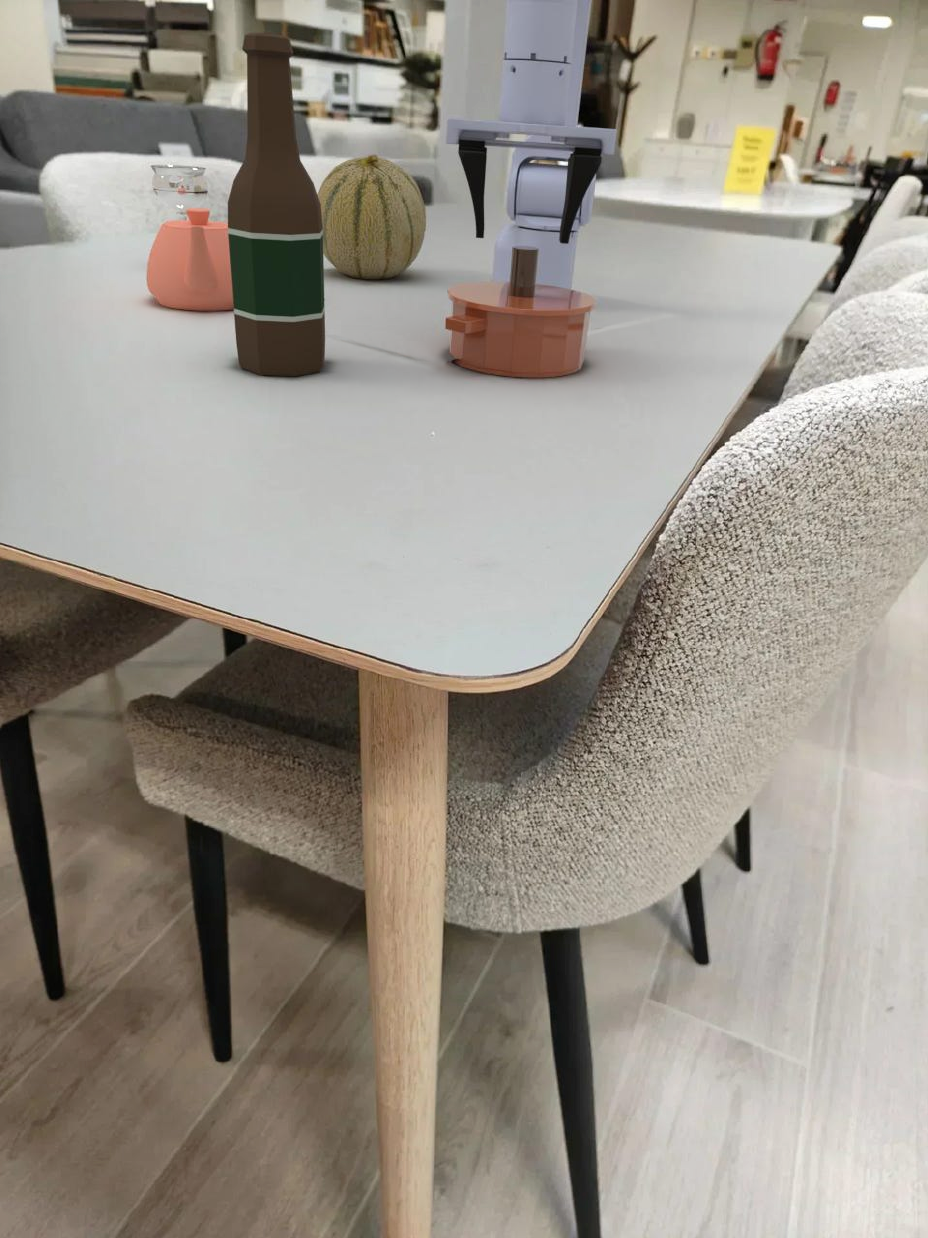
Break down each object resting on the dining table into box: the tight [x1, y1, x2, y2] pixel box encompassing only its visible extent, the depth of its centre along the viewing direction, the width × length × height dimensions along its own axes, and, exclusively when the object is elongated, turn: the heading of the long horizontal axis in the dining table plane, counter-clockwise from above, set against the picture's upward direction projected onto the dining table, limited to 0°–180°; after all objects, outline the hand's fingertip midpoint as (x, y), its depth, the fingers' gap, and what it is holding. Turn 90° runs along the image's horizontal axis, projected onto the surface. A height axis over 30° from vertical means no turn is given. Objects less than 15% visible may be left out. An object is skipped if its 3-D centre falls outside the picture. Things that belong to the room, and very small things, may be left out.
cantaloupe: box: [317, 154, 427, 281], centre depth 111 cm, size 15×15×15 cm
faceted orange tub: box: [444, 301, 591, 379], centre depth 80 cm, size 13×18×5 cm
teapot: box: [146, 207, 234, 312], centre depth 93 cm, size 12×18×10 cm
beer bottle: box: [227, 32, 326, 377], centre depth 69 cm, size 8×8×24 cm
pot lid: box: [447, 246, 597, 316], centre depth 78 cm, size 14×14×5 cm
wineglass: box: [150, 164, 209, 220], centre depth 111 cm, size 7×7×12 cm
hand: (521, 239), depth 78 cm, fingers open, 7 cm apart
